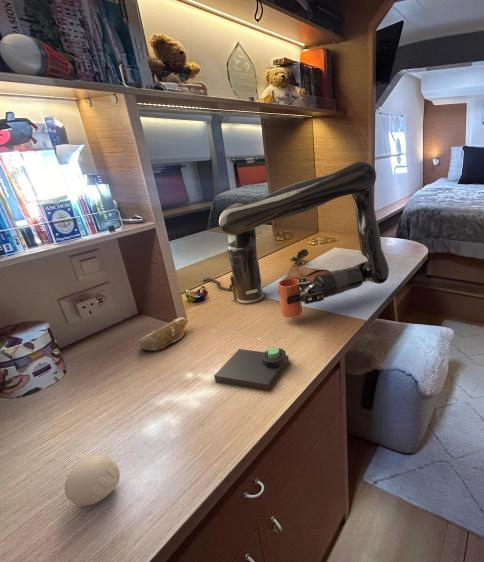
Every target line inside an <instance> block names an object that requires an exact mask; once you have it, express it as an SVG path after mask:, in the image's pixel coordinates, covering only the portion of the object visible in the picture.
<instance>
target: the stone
mask: <svg viewBox="0 0 484 562" xmlns="http://www.w3.org/2000/svg"><path fill="white" fill-rule="evenodd" d="M188 322H189V319H188V318H186V317H184V316H180V317H178V318H175V319H173V320H172V321H171V322H169V323H168V324H165V325H164V326H162V327H161V328H158V329H156V330H154V331H151V332H150V333H148V334H146V335H145V336H143V337H141V338H140V339H139V340H138V341H137V342H136V343H135V346H136V347H138V348H140V349H143V350H147V351H158V350H161V349H164V348H166V347H167V346H169V345H171V344H173V343H175V342H177V341H179V340H181V339H182V337H183V336H184V335H185V327H186V325H187V324H188Z"/></svg>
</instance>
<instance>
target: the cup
mask: <svg viewBox="0 0 484 562" xmlns="http://www.w3.org/2000/svg"><path fill="white" fill-rule="evenodd" d="M277 287H278V289H279V294H278V295H279V303H280V311H281V315H282V316H283V317H284V318H285V317H286V318H295V317H299V316H300V315H302V314H303V302H300V301H299V302H296V303H292V304H287V301H286V298H287V297H288V296H292V295H296V294H298V295H299V294H300V293H301V292H300V290H301V288H300V282H299V280H298V279H293V278H290V279H284V278H283V279H281V280H279V281H278V282H277Z"/></svg>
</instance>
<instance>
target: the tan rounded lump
mask: <svg viewBox="0 0 484 562" xmlns="http://www.w3.org/2000/svg"><path fill="white" fill-rule="evenodd" d="M120 473H121V472H120V469H119V466H118V464H117V463H116V461H115V460H114V459H112V458H110V457H108V456H106V455H93V456H90V457H87V458H85V459H83V460H81V461H79V462H78V463H77V464H76V465H74V467H72V468H71V470H70V471H69V473H68V475H67V476H66V479H65V482H64V494H65V496H66V498H67V500H69V501H70V502H72V503H73V504H75V505H77V506H84V507H85V506H86V507H87V506H91V505H95V504H97V503H99V502H100V501H101V502H102V501H103V500H104V499H105V498H107V496H109V495H110V493H112V492H113V491H114V490H115V489H116V488H117V486H118V484H119V482H120V477H121V474H120Z"/></svg>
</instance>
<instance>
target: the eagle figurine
mask: <svg viewBox="0 0 484 562" xmlns="http://www.w3.org/2000/svg"><path fill="white" fill-rule="evenodd" d="M308 255H309V250H308V249H304V248H303V249H301V250H299V251H298V252H297V254H296V256H294V255H293V256H291V257H290V258H289V262H290V263H291V262H292V263H293V265H295V266H299V267H300V264H302V265H304V266H305V265H306V264H305V261H304V258H306V257H308Z"/></svg>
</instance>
